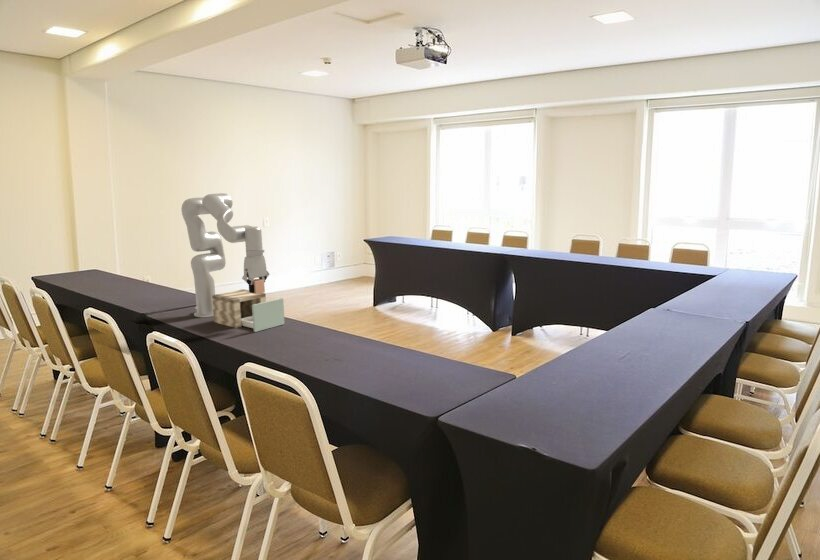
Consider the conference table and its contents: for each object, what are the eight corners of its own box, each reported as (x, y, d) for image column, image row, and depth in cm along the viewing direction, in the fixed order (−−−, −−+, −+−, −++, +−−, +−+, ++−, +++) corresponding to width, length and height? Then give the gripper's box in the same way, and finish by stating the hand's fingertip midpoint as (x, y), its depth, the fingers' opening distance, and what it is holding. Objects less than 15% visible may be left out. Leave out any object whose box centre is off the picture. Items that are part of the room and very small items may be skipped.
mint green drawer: (232, 326, 273) (230, 300, 271) (261, 318, 286) (260, 294, 284) (255, 331, 263) (253, 305, 260) (284, 323, 276) (283, 298, 273)
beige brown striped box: (214, 322, 282) (212, 295, 279) (245, 314, 296) (243, 289, 293) (236, 328, 271) (234, 300, 268) (267, 320, 285) (265, 293, 282)
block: (249, 292, 271) (248, 280, 270) (258, 291, 275) (257, 278, 274) (256, 294, 268) (255, 281, 267) (264, 292, 272) (264, 279, 271)
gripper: (264, 250, 277) (266, 287, 280) (234, 254, 264) (236, 293, 267) (274, 251, 272) (276, 289, 275) (244, 256, 259) (246, 295, 262)
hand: (257, 291), depth 271 cm, fingers closed on block, 4 cm apart
